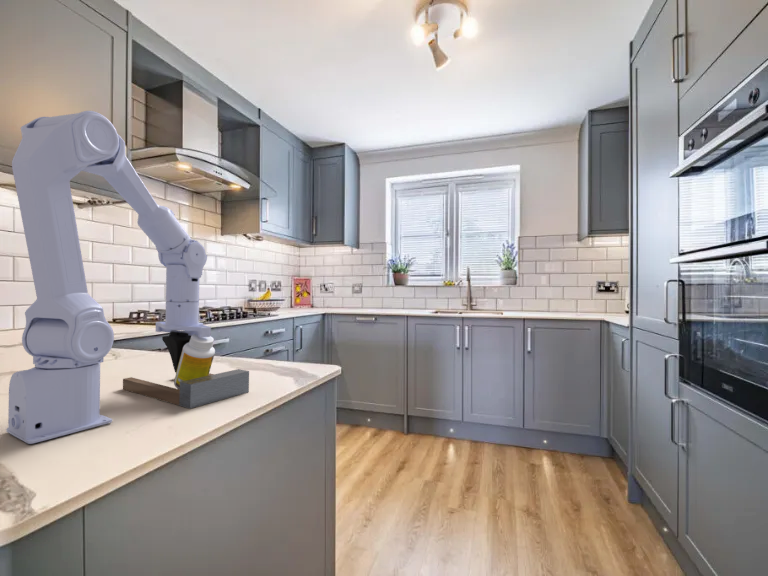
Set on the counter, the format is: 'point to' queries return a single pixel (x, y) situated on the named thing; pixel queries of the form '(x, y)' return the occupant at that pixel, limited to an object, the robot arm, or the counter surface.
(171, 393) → the guide rails
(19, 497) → the counter surface
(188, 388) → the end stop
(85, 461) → the counter surface
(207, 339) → the supplement bottle
